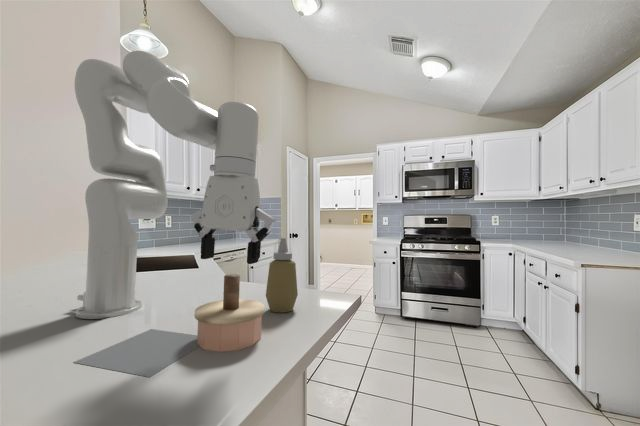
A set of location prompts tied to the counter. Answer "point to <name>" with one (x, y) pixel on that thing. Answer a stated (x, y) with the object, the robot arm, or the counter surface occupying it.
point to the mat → (143, 353)
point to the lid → (230, 306)
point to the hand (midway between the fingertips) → (229, 260)
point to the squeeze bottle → (282, 281)
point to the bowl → (229, 335)
